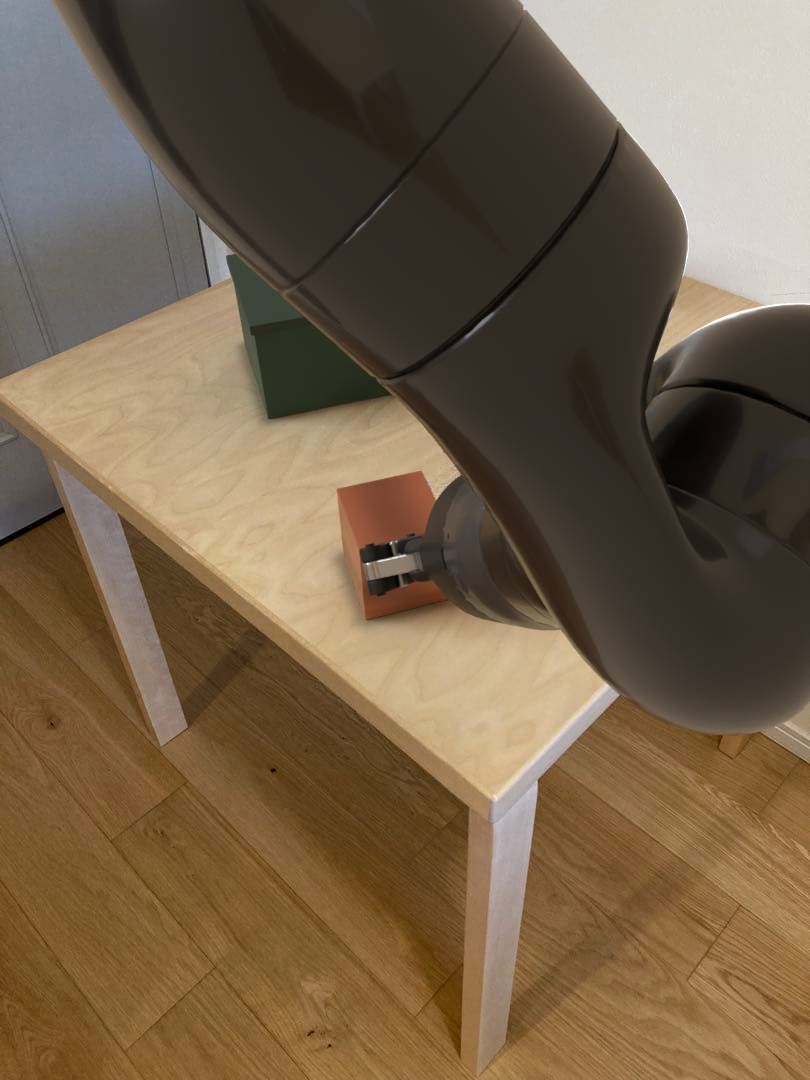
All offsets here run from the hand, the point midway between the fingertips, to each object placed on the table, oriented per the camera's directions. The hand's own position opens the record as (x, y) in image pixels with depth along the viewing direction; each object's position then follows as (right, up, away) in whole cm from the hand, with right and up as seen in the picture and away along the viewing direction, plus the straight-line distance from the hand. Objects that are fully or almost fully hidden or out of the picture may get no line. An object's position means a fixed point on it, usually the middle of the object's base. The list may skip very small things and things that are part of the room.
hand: (440, 548), depth 55 cm
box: (-11, +19, +41) cm, 46 cm away
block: (-3, -3, +18) cm, 19 cm away
